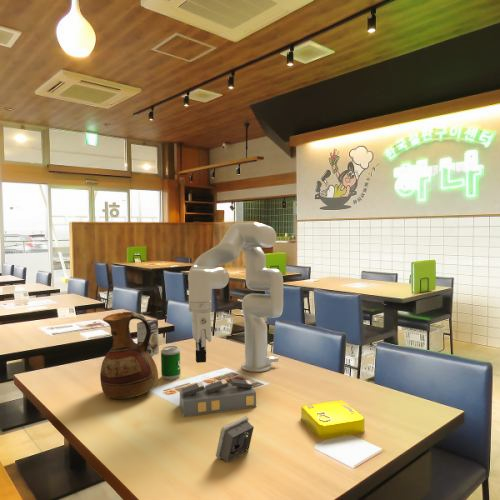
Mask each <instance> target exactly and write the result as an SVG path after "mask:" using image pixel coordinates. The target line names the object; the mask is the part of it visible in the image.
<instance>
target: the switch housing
mask: <svg viewBox="0 0 500 500" xmlns="http://www.w3.org/2000/svg"><path fill="white" fill-rule="evenodd" d="M204 389H205V390H202V391H199V392H196V393H193V394H190V395H187V396H183V393H182V389H179V406H180V408H181V412H182V416H183V418H187V417H193V416H200V415H201V416H202V415H206V414H207V415H208V414H215V413H221V412H229V411H235V410H236V411H237V410H243V409H250V408H256V407H257V392H256V390H255V389H254V387H252V388H246V387H238V386H232V385H231V383H228V387H226V388H223V389H220V390H217V391H214V392H211V393H208V392H207V390H206V387H205V386H204Z"/></svg>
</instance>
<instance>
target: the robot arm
mask: <svg viewBox="0 0 500 500" xmlns="http://www.w3.org/2000/svg"><path fill="white" fill-rule="evenodd" d="M276 242H277V233H276V230H275V229H274V228H273V227H272V226H269V225H267V224H265V223H260V222H256V221H255V222H254V221H253V222H236V223H233V224H231V225H230V226H229V228H228V229H227V231H226V232H225V234H224V236H223V237H222V239H221V240H220V242H219V244H217V245H216V246H214V247H212V248H210V249H208V250H207V251H204V252H203V253H201V254H200V255H199V256H198V257H197V258H196V259H195V260H194V262H193V264H192V265H191V267H190V268H189V270H188V271H189V272H188V275H187V281H188V312H190V313H191V315H192V316H191V329H192V333H191V334H192V338H193V340H194V341H195V362H196V363H197V364H199V363H200V364H201V363H206V362H207V342H209V343H211V342H212V321H211V313H210V312H212V311H213V295H212V294H213V290H215V289H216V290H217V289H218V290H221V289H223V288H225V287H226V286H227V285H228V284H229V281H230V273H229V272H228V270H227V269H226V268H224V267H221V266H223V265H226V264H228V263H232V262H234V261H236V260H237V259H238V257H239V256H240V254H241V253H242V252H243V254H244V257H245V286H246V288H247V289H249V290H251V291H257V292H259V291H260V292H269V294H268V293H264V294H263V293H247V294H246V295H245V296H244V297H242V301H241V309H242V314H243V319H244V322H243V323H244V360H245V361H244V362H243V363H242V364H241V369H242V370H244V371H246V372H250V373H261V372H266V371H269V370H270V369H272V363H278V362H279V357H278V356H276V357H274V356H269V355H268V326H267V323H266V321H265V318H269V319H271V318H273V319H277V318H280V317H281V316H282V314H283V310H284V278H283V277H284V276H283V273H282V271H280V269H278V268H269V267H268V268H267V260H266V259H267V257H266V254H265V252H264V250H263V248H267V249H268V248H272V247H274V245H275V244H276Z"/></svg>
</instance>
